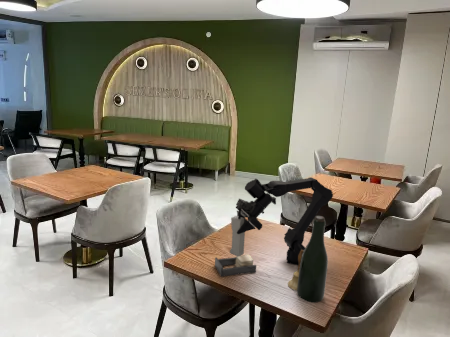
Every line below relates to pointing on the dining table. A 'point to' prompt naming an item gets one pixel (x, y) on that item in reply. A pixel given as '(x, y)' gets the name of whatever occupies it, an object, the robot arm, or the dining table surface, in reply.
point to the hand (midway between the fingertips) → (234, 230)
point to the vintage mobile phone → (237, 235)
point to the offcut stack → (243, 260)
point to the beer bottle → (313, 265)
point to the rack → (234, 270)
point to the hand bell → (295, 274)
